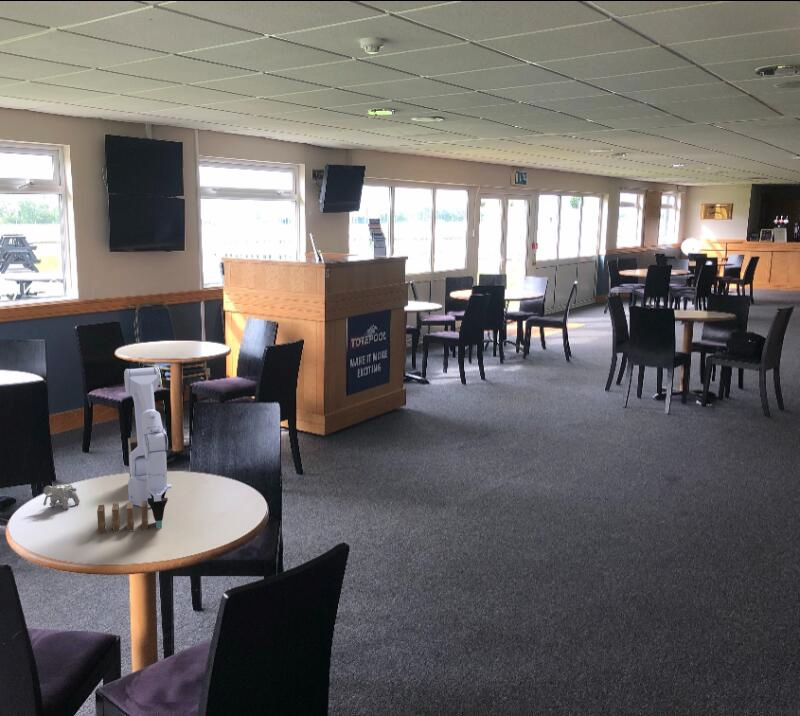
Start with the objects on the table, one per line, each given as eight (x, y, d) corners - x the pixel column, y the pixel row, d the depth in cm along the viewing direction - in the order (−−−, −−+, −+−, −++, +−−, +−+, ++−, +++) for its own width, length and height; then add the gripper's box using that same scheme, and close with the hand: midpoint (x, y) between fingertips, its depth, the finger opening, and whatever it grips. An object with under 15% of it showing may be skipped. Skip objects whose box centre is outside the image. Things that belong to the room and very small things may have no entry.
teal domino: (156, 528, 224) (155, 505, 223) (156, 521, 229) (155, 499, 228) (162, 527, 225) (161, 505, 223) (162, 521, 229) (161, 499, 228)
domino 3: (127, 531, 222) (126, 508, 221) (128, 524, 227) (127, 502, 225) (133, 530, 222) (132, 508, 221) (134, 523, 227) (132, 501, 226)
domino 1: (98, 534, 220) (97, 511, 218) (99, 527, 224) (98, 505, 223) (104, 533, 220) (103, 510, 219) (105, 526, 225) (104, 504, 223)
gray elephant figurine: (82, 502, 244) (81, 479, 243) (68, 515, 232) (66, 490, 231) (53, 502, 243) (52, 479, 242) (37, 515, 232) (35, 491, 230)
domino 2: (113, 532, 221) (111, 510, 219) (114, 525, 225) (112, 503, 224) (119, 532, 221) (117, 509, 220) (119, 525, 226) (118, 503, 225)
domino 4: (142, 529, 223) (141, 507, 222) (142, 523, 228) (141, 501, 226) (147, 529, 224) (146, 506, 222) (148, 522, 228) (147, 500, 227)
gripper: (171, 479, 218) (173, 523, 221) (170, 463, 232) (172, 505, 234) (145, 481, 216) (147, 526, 219) (146, 465, 230) (148, 507, 232)
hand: (158, 515), depth 226 cm, fingers open, 7 cm apart
